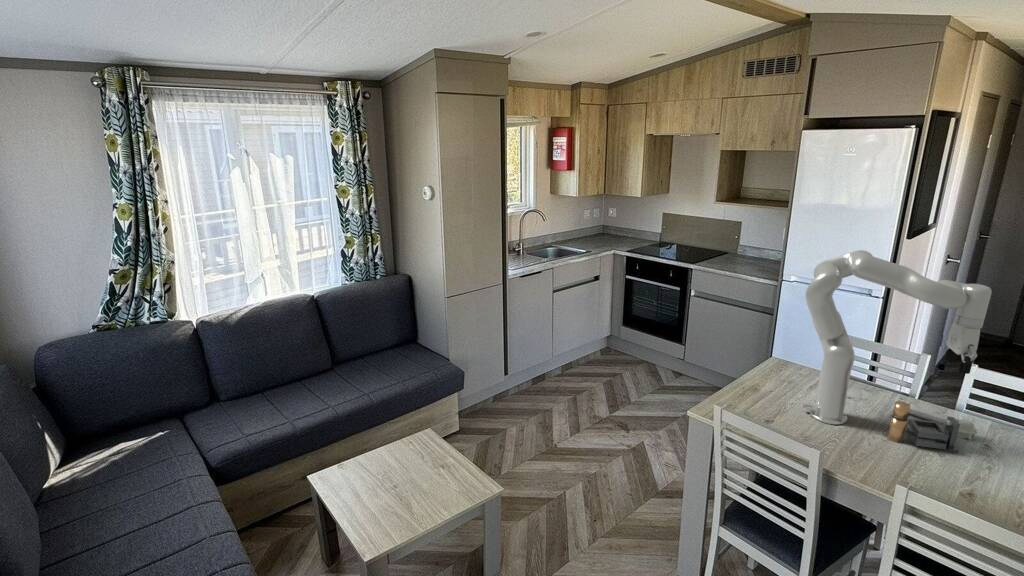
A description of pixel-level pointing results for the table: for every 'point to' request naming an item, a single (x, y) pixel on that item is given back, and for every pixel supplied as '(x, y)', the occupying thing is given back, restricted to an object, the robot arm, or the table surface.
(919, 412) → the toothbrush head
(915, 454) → the table surface
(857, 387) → the table surface
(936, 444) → the collar bracket
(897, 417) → the copper tube
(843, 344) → the robot arm
